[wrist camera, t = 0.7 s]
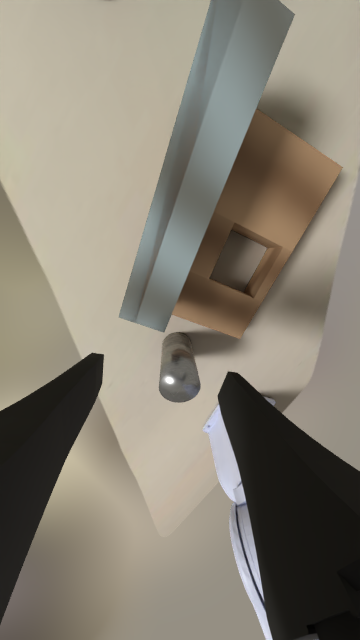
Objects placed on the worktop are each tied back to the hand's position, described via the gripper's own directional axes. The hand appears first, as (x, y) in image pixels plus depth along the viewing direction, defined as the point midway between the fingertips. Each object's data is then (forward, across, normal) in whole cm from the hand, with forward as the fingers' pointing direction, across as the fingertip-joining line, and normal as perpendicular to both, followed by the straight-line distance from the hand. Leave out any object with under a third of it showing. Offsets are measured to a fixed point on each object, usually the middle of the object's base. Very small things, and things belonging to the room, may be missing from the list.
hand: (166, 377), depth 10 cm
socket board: (+10, -4, -8) cm, 14 cm away
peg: (+10, -2, +4) cm, 11 cm away
